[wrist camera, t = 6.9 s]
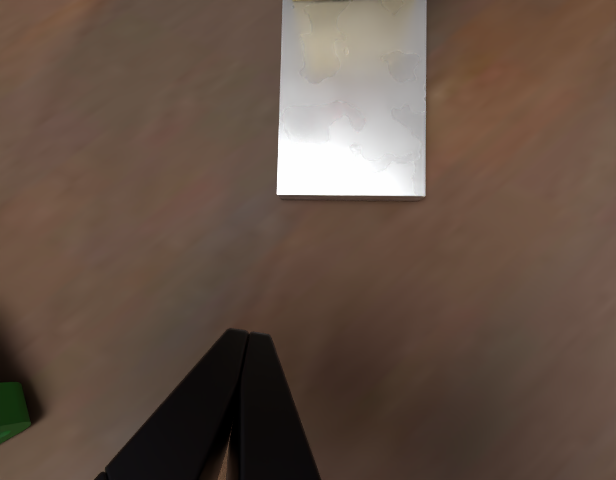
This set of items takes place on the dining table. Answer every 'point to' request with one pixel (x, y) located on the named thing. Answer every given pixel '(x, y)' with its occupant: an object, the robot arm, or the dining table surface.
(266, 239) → the dining table surface
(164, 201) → the dining table surface
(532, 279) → the dining table surface
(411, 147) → the grey ball socket brick
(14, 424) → the clamp
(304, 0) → the valve
